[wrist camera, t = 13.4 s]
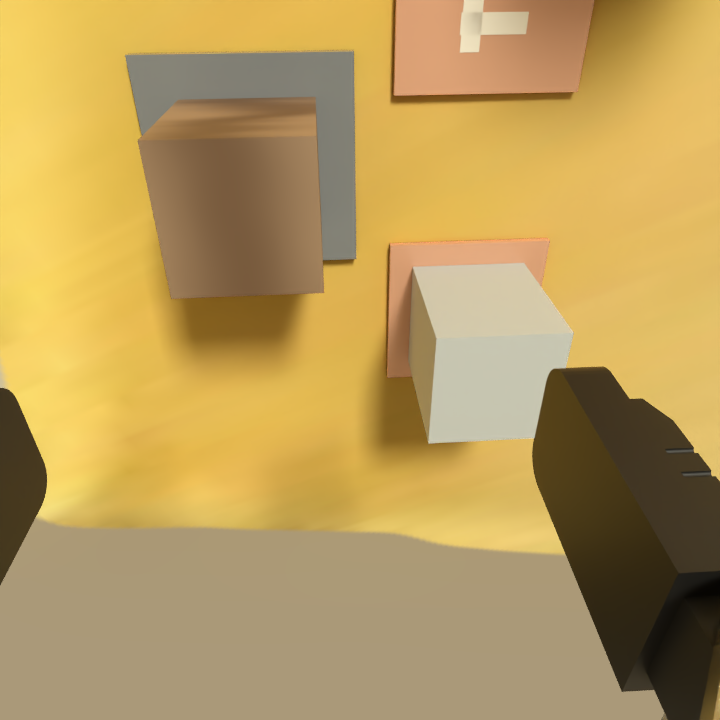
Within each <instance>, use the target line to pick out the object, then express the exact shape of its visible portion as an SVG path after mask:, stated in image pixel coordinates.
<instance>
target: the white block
mask: <svg viewBox="0 0 720 720" xmlns="http://www.w3.org/2000/svg"><path fill="white" fill-rule="evenodd" d="M573 334H574V332H573V331H572V330H571V328H570V327H569V325H568V324H567V323H566V321H565V320H564V318H563V317H562V316H561V314H560V313H559V311H558V310H557V309H556V307H555V306H554V304H553V303H552V301H551V300H550V299H549V297H548V296H547V294H546V293H545V292H544V290H543V289H542V287H541V286H540V285H539V283H538V282H537V280H536V279H535V278H534V276H533V275H532V273H531V272H530V271H529V269H528V268H527V266H526V265H525V263H505V264H477V265H449V266H421V267H413V271H412V292H411V313H410V334H409V355H408V362H409V366H410V370H411V374H412V378H413V382H414V386H415V391H416V395H417V399H418V403H419V407H420V411H421V415H422V419H423V424H424V428H425V432H426V436H427V440H428V444H429V443H449V442H468V441H488V440H507V439H527V438H535V433H536V428H537V423H538V419H539V414H540V409H541V404H542V399H543V395H544V390H545V385H546V381H547V377H548V375H549V373H550V371H551V370H552V369H555V368H566V364H567V360H568V356H569V351H570V347H571V343H572V339H573Z"/></svg>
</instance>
